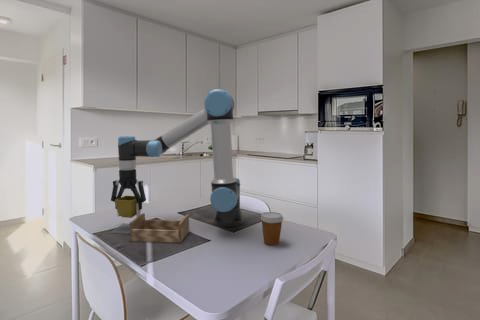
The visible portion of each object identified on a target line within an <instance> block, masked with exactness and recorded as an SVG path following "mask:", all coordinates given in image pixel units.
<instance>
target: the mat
mask: <svg viewBox="0 0 480 320" xmlns="http://www.w3.org/2000/svg"><path fill="white" fill-rule="evenodd" d="M109 234H120V235H121V234H124V235H125V234H126V235H127V234H129V235H130V222H129V223H121V224H120V225H119V226H117V227H116V228H114V229H113V230H111V231H109Z"/></svg>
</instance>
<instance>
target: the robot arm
mask: <svg viewBox="0 0 480 320" xmlns="http://www.w3.org/2000/svg"><path fill="white" fill-rule="evenodd" d="M203 104H204V105H203V109H201V110H200V111H198V112H196V113H195V114H193V115H192V116H190V117H189V118H187V119H185V120H184V121H183V122H181V123H179V124H177V125H176V126H174V127H173V128H171V129H169V130H168V131H167V132H165V133H164V134H162V135H160V136H158V137H156V139H149V140H146V139H145V140H144V139H143V140H137V139H136V137H135V136H134V135H120V136H119V137H118V139H117V141H118V142H117V147H118V148H117V151H118V169H119V170H118V177H119V179H116V180H113V181H112V193H111V197H110V201H111V202H113V203H114V204H115V206H114V208H115V210H116V211H117V208H116V203H115V200H116V199H119V198H121V197H123V193H124V192H125V190H130V191H131V192H132V193H133V196H135V198H136V200H137V202H138V203H137V204H136V207H137V215H136V218H137V217H138V216H140V215H141V212H142V211H141V210H142V209H143V203H144V202H146V201H147V198H146V193H145V189H144V181H143V180H138V179H137V169H136V168H137V160H136V159H137V157H146V158H147V157H149V158H157V157H158V158H159V157H160V156H161V155H162V154H163V155H164V154H165V153H166V152H167V151H168V150H169V149H170V148H173V147H174V146H176V145H178V143H181V142H182V141H184V140H185V139H187V138H189V137H190V136H191V135H194V134H195V133H197V132H198V131H200V130H201V129H203V128H205V127H206V126H208V125H210V129H211V131H210V133H211V146H212V147H211V148H212V163H213V164H212V165H213V176H214V177H213V179H212V180H211V182H210V183H211V184H210V185H211V194H210V203H211V206H212V207H213V208H214V209H215V213H214V216H213V224H214V225H215V226H217V227H222V228H236V227H238V226H239V227H240V226H241V225H243V224H244V217H243V213H242V211H241V181H240V178H238V177H234V168H233V153H232V134H231V123H233V121H234V109H235V100H234V99H233V97H232V96H231V95H230V93H229V92H227V91H226V90H223V89H218V88H215V89H212V90H210V91H209V92H208V93H206V95H205V98H204V102H203ZM119 185H120V187H119ZM136 185H137V186H136ZM137 187H138V189H137ZM118 189H119V190H118ZM140 196H141V197H140ZM116 215H117V218H118V217H121V216H120V215H119V213H118V211H117V213H116Z"/></svg>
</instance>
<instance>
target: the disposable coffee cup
mask: <svg viewBox="0 0 480 320" xmlns="http://www.w3.org/2000/svg"><path fill="white" fill-rule="evenodd" d="M260 220H261V227H262V236H263V243H264V244H265V245H268V246H278V245H279V243H280V238H281V231H282V225H283V221H284V217H283V214H282V213H279V212H276V211H266V212H262V214H261V216H260Z"/></svg>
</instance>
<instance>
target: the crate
mask: <svg viewBox="0 0 480 320" xmlns="http://www.w3.org/2000/svg"><path fill="white" fill-rule="evenodd" d="M129 224H130V234H129V241H130V242H143V243H144V242H145V243H146V242H148V243H149V242H150V243H178V244H179V243H180V244H181V243H182V242H183V241H184V239H185V237H186V236H187V234H188V233H189V232H190V214H186V215H185V216H183V218H182V219H181V220H175V219H174V220H172V219H171V220H169V219H146V214H145V213H143V212H142V214H141V215H140V216H138V217H137V216H136V218H134V219H133V220H131V221H129Z"/></svg>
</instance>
